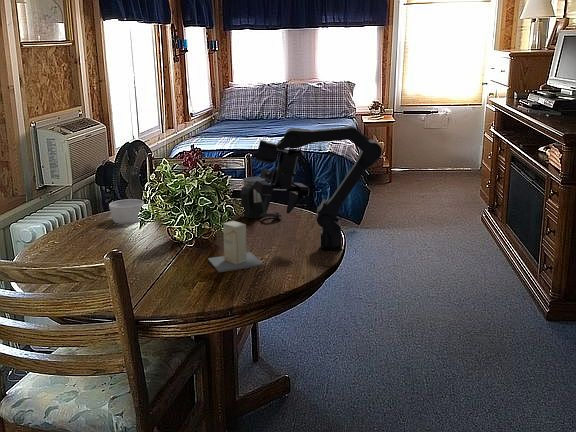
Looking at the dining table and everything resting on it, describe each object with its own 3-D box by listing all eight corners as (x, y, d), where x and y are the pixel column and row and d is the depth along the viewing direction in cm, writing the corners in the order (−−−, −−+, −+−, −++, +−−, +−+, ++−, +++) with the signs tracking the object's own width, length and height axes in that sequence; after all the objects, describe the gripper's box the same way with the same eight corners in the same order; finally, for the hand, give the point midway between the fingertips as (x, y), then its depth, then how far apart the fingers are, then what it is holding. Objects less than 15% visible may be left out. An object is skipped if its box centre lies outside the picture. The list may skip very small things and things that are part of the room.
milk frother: (246, 212, 251) (244, 176, 247) (285, 212, 249) (284, 176, 245) (239, 222, 237) (237, 184, 233) (280, 222, 236) (279, 184, 232)
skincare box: (223, 260, 195) (221, 223, 192) (234, 256, 198) (232, 220, 195) (237, 265, 191) (235, 227, 187) (247, 261, 194) (246, 223, 190)
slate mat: (249, 253, 202) (249, 251, 202) (262, 265, 192) (262, 263, 192) (208, 260, 197) (208, 258, 197) (218, 272, 187) (218, 270, 187)
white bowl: (111, 217, 248) (109, 200, 246) (145, 214, 251) (143, 197, 249) (110, 226, 236) (108, 208, 234) (145, 223, 239) (144, 205, 237)
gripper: (295, 162, 212) (286, 205, 216) (249, 158, 201) (239, 204, 205) (314, 171, 203) (304, 216, 207) (267, 168, 192) (257, 216, 196)
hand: (276, 213), depth 204 cm, fingers open, 9 cm apart
